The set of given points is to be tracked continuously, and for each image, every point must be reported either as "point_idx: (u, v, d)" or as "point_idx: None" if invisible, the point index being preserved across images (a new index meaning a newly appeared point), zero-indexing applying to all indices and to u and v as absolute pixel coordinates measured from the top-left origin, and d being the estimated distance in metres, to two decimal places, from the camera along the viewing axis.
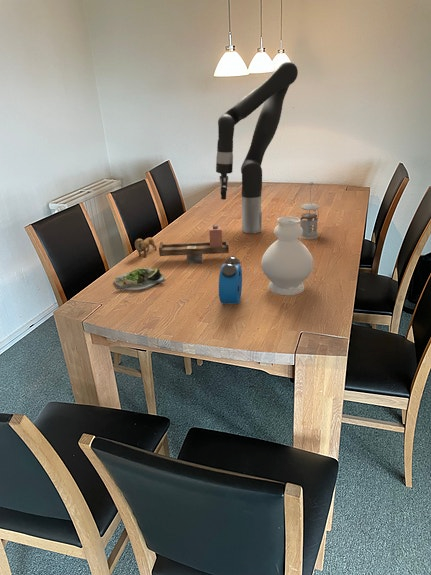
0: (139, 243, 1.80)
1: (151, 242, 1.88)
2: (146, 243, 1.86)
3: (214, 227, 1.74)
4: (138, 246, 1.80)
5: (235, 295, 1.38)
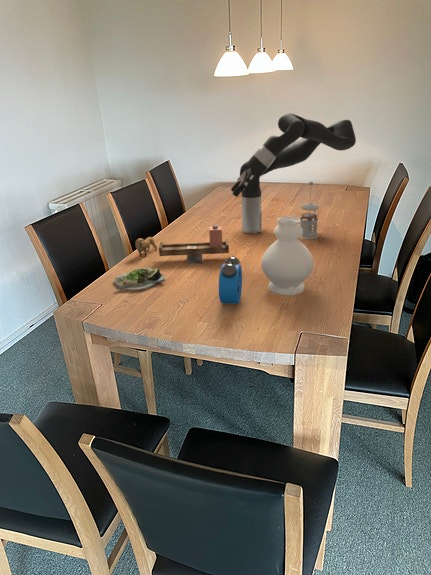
0: (140, 243, 1.80)
1: (151, 242, 1.89)
2: (147, 243, 1.86)
3: (214, 227, 1.74)
4: (139, 246, 1.81)
5: (235, 295, 1.38)
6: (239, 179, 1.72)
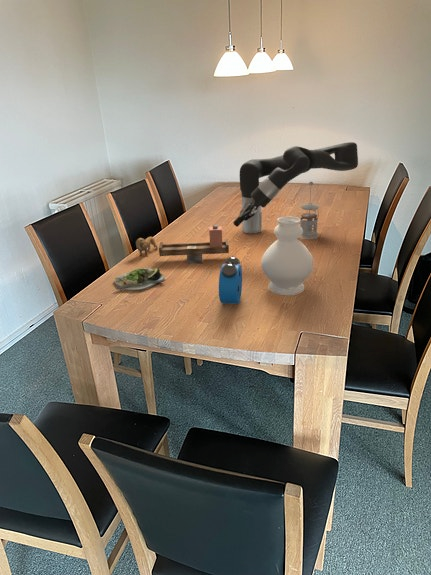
0: (140, 242, 1.81)
1: (152, 241, 1.89)
2: (147, 242, 1.86)
3: (214, 227, 1.74)
4: (139, 245, 1.81)
5: (235, 295, 1.38)
6: (243, 211, 1.72)
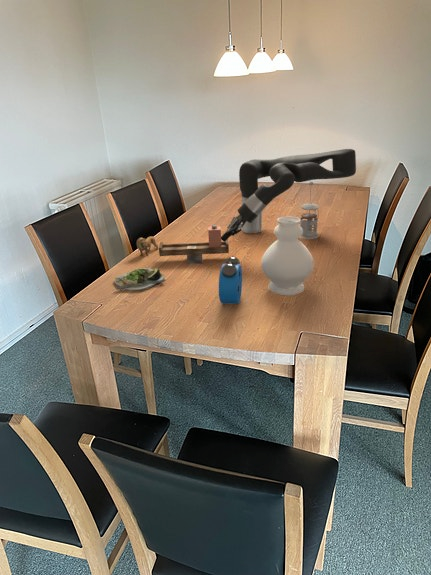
0: (141, 242, 1.81)
1: (152, 241, 1.89)
2: (148, 242, 1.87)
3: (213, 227, 1.74)
4: (140, 245, 1.81)
5: (235, 295, 1.38)
6: (230, 226, 1.74)
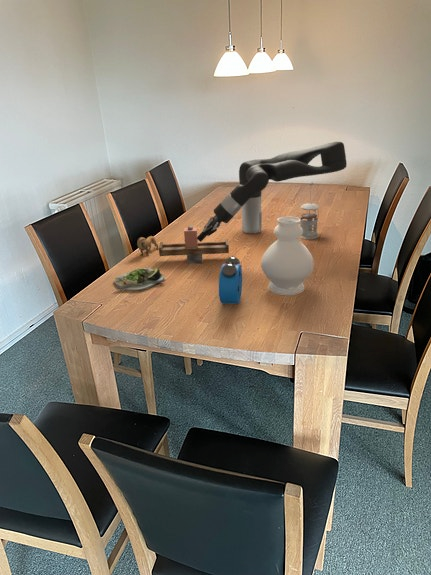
0: (142, 242, 1.81)
1: (153, 241, 1.90)
2: (148, 242, 1.87)
3: (189, 228, 1.74)
4: (141, 245, 1.82)
5: (235, 295, 1.38)
6: None
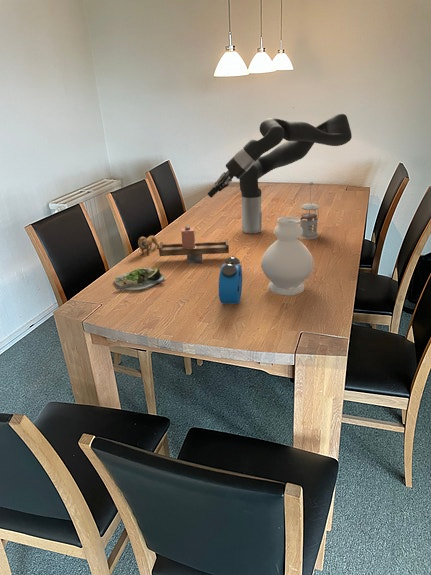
0: (142, 241, 1.82)
1: (154, 240, 1.90)
2: (149, 241, 1.88)
3: (186, 228, 1.73)
4: (141, 244, 1.82)
5: (235, 295, 1.38)
6: (217, 182, 1.71)
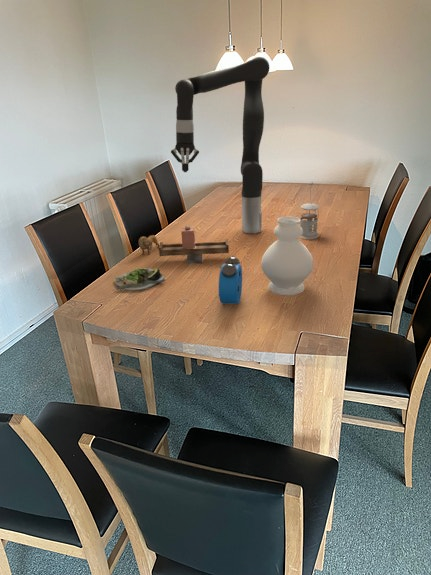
0: (143, 241, 1.82)
1: (154, 240, 1.91)
2: (149, 241, 1.88)
3: (186, 228, 1.73)
4: (142, 244, 1.83)
5: (235, 295, 1.38)
6: None
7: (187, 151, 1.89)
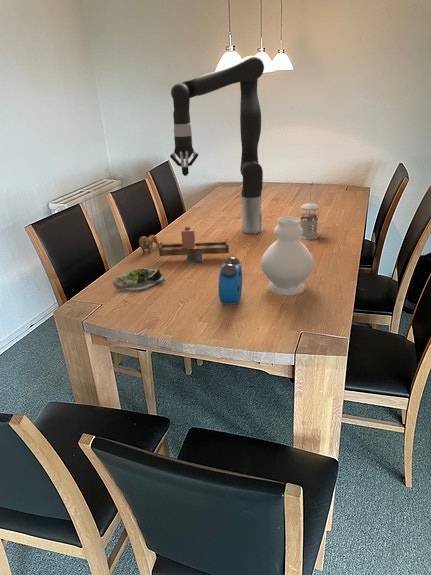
0: (143, 240, 1.83)
1: (154, 239, 1.91)
2: (150, 240, 1.88)
3: (186, 228, 1.73)
4: (142, 243, 1.83)
5: (235, 295, 1.38)
6: None
7: (186, 155, 1.89)
